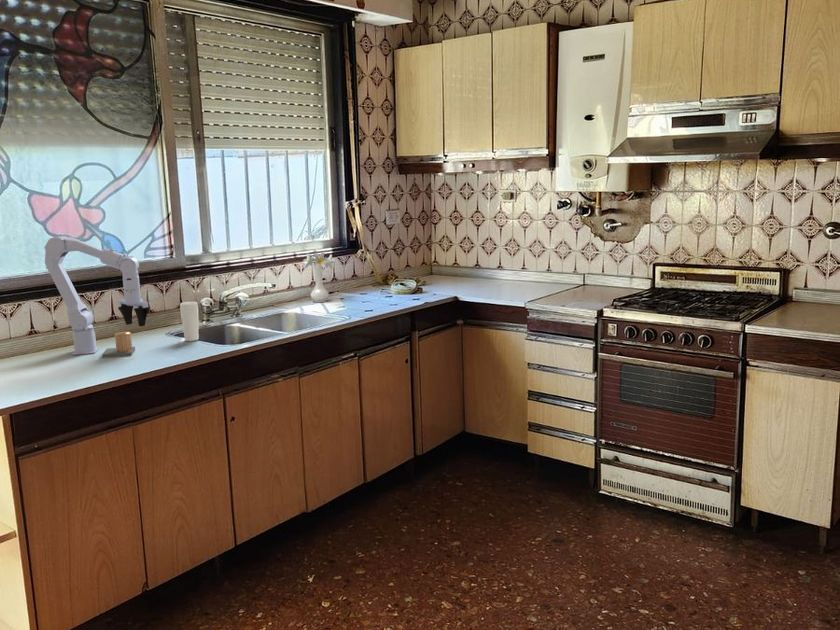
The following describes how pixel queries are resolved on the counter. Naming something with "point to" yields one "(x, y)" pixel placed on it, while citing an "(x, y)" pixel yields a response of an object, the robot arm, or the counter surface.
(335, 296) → the counter surface
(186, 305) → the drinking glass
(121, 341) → the copper topped wooden cylinder
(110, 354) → the base
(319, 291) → the flower vase
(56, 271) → the robot arm
